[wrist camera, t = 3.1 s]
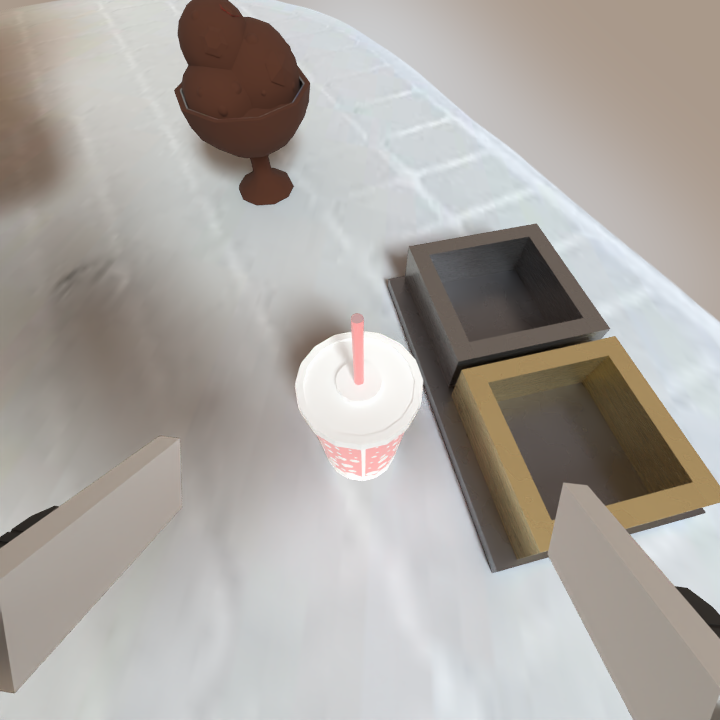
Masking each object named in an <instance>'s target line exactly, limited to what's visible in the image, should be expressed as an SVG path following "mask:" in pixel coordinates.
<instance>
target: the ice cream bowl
mask: <svg viewBox="0 0 720 720" xmlns="http://www.w3.org/2000/svg"><path fill="white" fill-rule="evenodd" d="M178 38H179V43H180V47H181V50H182V52H183V55H184V57H185V59H186V61H187V63H188V67H187V69H186V71H185V73H184V74H183V80H182V82H181V84H180V85H179V86H178V87H177V88H176V89H175V90H174V91H175V94H176V97H177V100H178V103H179V105H180V108H181V111H182V113H183V114H184V116H185V118H186V119H187V121H188V123H189V125H190V126H191V128H192V129H193V130H194V131H195V132H196V134H197V135H198V136H199V137H200V138H201V139H202V140H203V141H205V142H207V143H209V144H210V145H212V146H214V147H216V148H218V149H220V150H223V151H225V152H228V153H230V154H233V155H236V156H238V157H243V158H250V159H251V163H252V167H253V172H251V173H249V174H247V175H245V177H244V178H243V180H242V181H241V183H240V185H239V190H240V193H241V195H242V197H243V200H246V201H248V202H250V203H253V204H255V205H268V204H275V203H277V202H279V201H281V200H283V199H285V198H287V197H289V195H290V193H291V191H292V189H293V187H294V186H293V184H292V182H291V180H290V178H289V176H288V175H287V173H286V172H283V171H281V170H278V169H276V168H271V166H270V162H269V158H268V156H269V154H270V153H273V152H275V151H277V150H279V149H280V148H282V147H283V146H285V145H286V144H287V143H288V142H289V140H290V139H291V138H292V137H293V136H294V134H295V132H296V130H297V129H298V127H299V125H300V123H301V122H302V120H303V118H304V116H305V113H306V109H307V106H308V103H309V91H310V82H309V81H308V79H307V78H306V77H305V75H304V74H303V73H302V71H301V70H300V69H299V67H298V66H297V63H296V59H295V57H294V55H293V53H292V52H291V49H290V46H289V45H288V44H287V43H286V42H285V40H284V39H283V38H282V36H281V35H280V33H279V32H278V31H276V30H275V29H274V28H273V27H272V26H271V25H270V24H269V23H266V22H263V21H261V20H258V19H255V18H251V17H243V16H242V14H241V13H240V11H239V10H238V9H237V8H236V7H235V6H234V5H233V4H232V3H230V2H229V1H228V0H192V1H190V2H189V3H188V4H187V5H186V7H185V9H184V11H183V13H182V16H181V18H180V20H179V25H178Z"/></svg>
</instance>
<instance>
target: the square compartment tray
mask: <svg viewBox="0 0 720 720" xmlns="http://www.w3.org/2000/svg"><path fill="white" fill-rule="evenodd" d="M388 288H389V291H390V294H391V297H392V299H393V302H394V305H395V308H396V310H397V313H398V316H399V319H400V321H401V324H402V327H403V330H404V332H405V335H406V338H407V341H408V343H409V346H410V349H411V351H412V354H413V357H414V358H415V359H416V362H417V364H418V367H419V370H420V373H421V376H422V378H423V384H424V387H425V390H426V393H427V395H428V398H429V401H430V404H431V406H432V409H433V412H434V415H435V417H436V420H437V423H438V426H439V428H440V431H441V434H442V437H443V439H444V442H445V445H446V448H447V450H448V453H449V456H450V459H451V461H452V464H453V467H454V469H455V472H456V475H457V478H458V480H459V483H460V486H461V489H462V491H463V494H464V497H465V500H466V502H467V505H468V508H469V511H470V513H471V516H472V519H473V522H474V524H475V527H476V530H477V533H478V535H479V538H480V541H481V544H482V546H483V549H484V552H485V555H486V557H487V560H488V563H489V566H490V568H491V571H492V573H494V572H498V571H501V570H505V569H508V568H512V567H516V566H519V565H523V564H526V563H530V562H533V561H537V560H540V559H544V558H547V557H549V556H548V550H549V545H550V541H551V536H552V532H553V527H554V523H555V518H556V513H557V509H558V504H559V500H560V495H561V490H562V486H563V483H572V484H581V485H588V487H589V488H590V489H591V490H592V491H593V492H594V494H595V495H596V496H597V497H598V498H599V499H600V501H601V502H602V503H603V504H604V505H605V506H606V507H607V509H608V510H609V511H610V512H611V513H612V514H613V516H614V517H615V518H616V519H617V520H618V521H619V523H620V524H621V525H622V526H623V527H624V528H625V530H626V531H627V532H628V533H629V534H632V533H636V532H640V531H643V530H647V529H650V528H654V527H657V526H661V525H664V524H668V523H671V522H675V521H679V520H682V519H686V518H689V517H693V516H696V515H700V514H703V513H705V511H704V510H703V508H702V507H706V506H709V505H713V504H716V503H720V486H719V484H718V483H717V481H716V480H715V478H714V477H713V476H712V474H711V473H710V471H709V470H708V468H707V467H706V466H705V464H704V463H703V461H702V460H701V458H700V457H699V455H698V454H697V453H696V451H695V450H694V448H693V447H692V445H691V444H690V443H689V441H688V440H687V438H686V437H685V435H684V434H683V433H682V431H681V430H680V428H679V427H678V425H677V424H676V423H675V421H674V420H673V418H672V417H671V415H670V414H669V413H668V411H667V410H666V408H665V407H664V405H663V404H662V402H661V401H660V400H659V398H658V397H657V395H656V394H655V392H654V391H653V390H652V388H651V387H650V385H649V384H648V382H647V381H646V380H645V378H644V377H643V375H642V374H641V372H640V371H639V370H638V368H637V367H636V365H635V364H634V362H633V361H632V360H631V358H630V357H629V355H628V354H627V352H626V351H625V349H624V348H623V347H622V345H621V344H620V342H619V341H618V339H617V338H616V337H615V336H614V337H609V338H605V339H601V338H602V337H603V336H604V335H605V334H606V333H607V332H608V331H609V329H610V328H609V327H608V325H607V324H606V322H605V321H604V319H603V318H602V317H601V315H600V314H599V312H598V311H597V309H596V308H595V307H594V305H593V304H592V302H591V301H590V299H589V298H588V296H587V295H586V294H585V292H584V291H583V289H582V288H581V286H580V285H579V284H578V282H577V281H576V279H575V278H574V276H573V275H572V274H571V272H570V271H569V269H568V268H567V266H566V265H565V264H564V262H563V261H562V259H561V258H560V256H559V255H558V253H557V252H556V251H555V249H554V248H553V246H552V245H551V243H550V242H549V241H548V239H547V238H546V236H545V235H544V233H543V232H542V231H541V229H540V228H539V226H538V225H537V224H532V225H526V226H520V227H515V228H509V229H504V230H498V231H493V232H487V233H481V234H476V235H470V236H465V237H459V238H454V239H448V240H443V241H437V242H431V243H426V244H420V245H415V246H409V249H408V257H407V265H406V274H405V276H403V277H397V278H392V279H389V282H388Z"/></svg>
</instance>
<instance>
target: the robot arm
mask: <svg viewBox="0 0 720 720" xmlns="http://www.w3.org/2000/svg"><path fill="white" fill-rule="evenodd" d="M181 508H182V480H181V448H180V438H174V437H165V436H159V437H157V438H156V439H154V440H153V441H151V442H150V443H149V444H147V445H146V446H144V447H143V448H142V449H140V450H139V451H137V452H136V453H134V454H133V455H132V456H130V457H129V458H127V459H126V460H125V461H123V462H122V463H120V464H119V465H118V466H116V467H115V468H113V469H112V470H110V471H109V472H108V473H106V474H105V475H103V476H102V477H101V478H99V479H98V480H96V481H95V482H93V483H92V484H91V485H89V486H88V487H86V488H85V489H84V490H82V491H81V492H79V493H78V494H77V495H75V496H74V497H72V498H71V499H69V500H68V501H67V502H65V503H64V504H62V505H61V506H60V507H59V506H53V507H51V508H49V509H46V510H44V511H42V512H39V513H37V514H35V515H33V516H31V517H29V518H28V519H26V520H25V521H23V522H22V523H20V524H19V525H17V526H16V527H14V528H13V529H12V531H11V532H7V533H6V534H4V535H3V536H1V537H0V691H3V692H9V693H16V692H17V690H18V689H19V688H20V687H21V686H22V685H23V684H24V683H25V682H26V680H27V679H28V678H29V677H30V676H31V675H32V674H33V673H34V672H35V670H36V669H37V668H38V667H39V666H40V665H41V664H42V663H43V662H44V660H45V659H46V658H47V657H48V656H49V655H50V654H51V653H52V652H53V650H54V649H55V648H56V647H57V646H58V645H59V644H60V643H61V642H62V640H63V639H64V638H65V637H66V636H67V635H68V634H69V633H70V632H71V630H72V629H73V628H74V627H75V626H76V625H77V624H78V623H79V622H80V620H81V619H82V618H83V617H84V616H85V615H86V614H87V613H88V612H89V610H90V609H91V608H92V607H93V606H94V605H95V604H96V603H97V601H98V600H99V599H100V598H101V597H102V596H103V595H104V594H105V593H106V591H107V590H108V589H109V588H110V587H111V586H112V585H113V584H114V583H115V581H116V580H117V579H118V578H119V577H120V576H121V575H122V574H123V573H124V571H125V570H126V569H127V568H128V567H129V566H130V565H131V564H132V563H133V561H134V560H135V559H136V558H137V557H138V556H139V555H140V554H141V553H142V551H143V550H144V549H145V548H146V547H147V546H148V545H149V544H150V543H151V541H152V540H153V539H154V538H155V537H156V536H157V535H158V534H159V533H160V531H161V530H162V529H163V528H164V527H165V526H166V525H167V524H168V523H169V521H170V520H171V519H172V518H173V517H174V516H175V515H176V514H177V513H178V511H179V510H180V509H181ZM548 556H549V558H550V560H551V562H552V564H553V566H554V568H555V570H556V571H557V573H558V575H559V577H560V579H561V581H562V583H563V585H564V587H565V589H566V591H567V593H568V595H569V597H570V599H571V600H572V602H573V604H574V606H575V608H576V610H577V612H578V614H579V616H580V618H581V620H582V622H583V624H584V626H585V628H586V629H587V631H588V633H589V635H590V637H591V639H592V641H593V643H594V645H595V647H596V649H597V651H598V653H599V655H600V657H601V658H602V660H603V662H604V664H605V666H606V668H607V670H608V672H609V674H610V676H611V678H612V680H613V682H614V684H615V685H616V687H617V689H618V691H619V693H620V695H621V697H622V699H623V701H624V703H625V705H626V707H627V709H628V711H629V713H630V714H631V716H632V718H633V720H720V615H719V614H718V612H717V611H716V610H715V609H714V608H713V607H712V606H711V605H709V604H708V603H707V602H705V601H704V600H703V599H701V598H700V597H699V596H697V595H696V594H695V593H693V592H692V591H691V590H689V589H688V588H684V587H676V586H674V585H673V584H672V583H671V582H670V581H669V579H668V578H667V577H666V576H665V575H664V574H663V572H662V571H661V570H660V569H659V568H658V567H657V565H656V564H655V563H654V562H653V561H652V560H651V559H650V557H649V556H648V555H647V554H646V553H645V552H644V550H643V549H642V548H641V547H640V546H639V545H638V543H637V542H636V541H635V540H634V539H633V538H632V536H631V535H630V534H629V533H628V532H627V531H626V530H625V528H624V527H623V526H622V525H621V524H620V523H619V521H618V520H617V519H616V518H615V517H614V516H613V514H612V513H611V512H610V511H609V510H608V509H607V507H606V506H605V505H604V504H603V503H602V502H601V501H600V499H599V498H598V497H597V496H596V495H595V494H594V492H593V491H592V490H591V489H590V488H589V487H588V485H581V484H572V483H563V486H562V490H561V495H560V500H559V504H558V509H557V513H556V518H555V523H554V527H553V532H552V536H551V541H550V545H549V550H548Z"/></svg>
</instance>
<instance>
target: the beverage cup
mask: <svg viewBox="0 0 720 720" xmlns="http://www.w3.org/2000/svg"><path fill="white" fill-rule="evenodd" d="M422 390H423V378H422V376H421V373H420V370H419V367H418V364H417V362H416V359H415V358H414V357H413V356H412V355H411V354H410V353H409V352H408V351H407V350H406V349H405V348H404V347H403V346H402V344H401V343H399V342H397V341H395V340H393V339H391V338H389V337H387V336H384V335H382V334H380V333H373V332H366V331H364V318H363V316H362V315H361V314H358V313H356V314H353V315H352V316H351V332H347V333H341V334H336V335H333V336H332V337H330V338H328V339H326V340H325V341H323V342H321V343H320V344H318V345H316V346H315V347H314V348H313V349H312V350H311V352H310V353H309V354H308V355H307V356H306V358H305V359H304V360H303V361H302V363H301V364H300V368H299V371H298V375H297V378H296V382H295V391H296V397H297V403H298V408H299V411H300V412H301V415H302V416H303V417H304V419H305V420H306V422H307V423H308V425H309V426H310V428H311V429H312V430H313V432H314V433H315V434H316V435H317V436H318V438H319V441H320V443H321V445H322V447H323V449H324V451H325V453H326V455H327V457H328V459H329V461H330V463H331V464H332V466H333V467H334V468H335V470H336V471H337V472H338V473H340V474H341V475H343V476H345V477H346V478H348V479H352V480H359V481H365V480H369V479H373V478H376V477H378V476H379V475H380V474H382V473H383V472H384V471H386V470H387V469H388V467H389V465H390V463H391V462H392V460H393V458H394V456H395V454H396V451H397V449H398V446H399V444H400V441H401V439H402V436H403V434H404V432H405V431H406V430H407V429H408V427H409V426H410V424H411V422H412V421H413V419H414V417H415V415H416V414H417V412H418V410H419V408H420V406H421V400H422Z"/></svg>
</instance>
